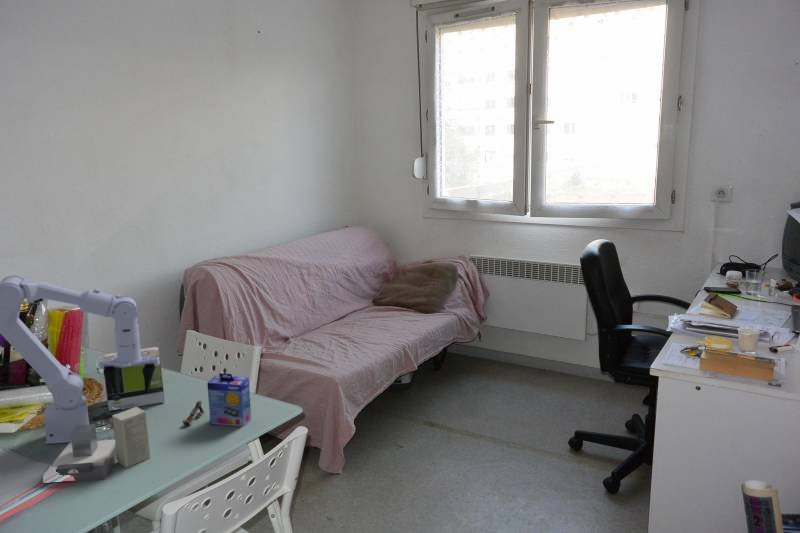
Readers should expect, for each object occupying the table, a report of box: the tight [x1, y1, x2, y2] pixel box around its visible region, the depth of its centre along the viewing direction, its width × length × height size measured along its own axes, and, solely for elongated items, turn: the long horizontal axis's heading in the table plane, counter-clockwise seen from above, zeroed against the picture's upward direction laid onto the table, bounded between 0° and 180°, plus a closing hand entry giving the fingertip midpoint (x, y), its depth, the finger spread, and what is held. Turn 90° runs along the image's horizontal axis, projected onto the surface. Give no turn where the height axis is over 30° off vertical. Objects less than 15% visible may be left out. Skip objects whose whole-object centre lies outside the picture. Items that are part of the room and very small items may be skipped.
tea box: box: [103, 346, 166, 411], centre depth 173 cm, size 15×10×15 cm, turn 115°
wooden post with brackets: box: [182, 400, 205, 427], centre depth 162 cm, size 2×8×4 cm, turn 165°
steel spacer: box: [71, 423, 98, 457], centre depth 139 cm, size 4×4×6 cm
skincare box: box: [111, 407, 151, 468], centre depth 140 cm, size 6×4×12 cm
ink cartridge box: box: [206, 373, 252, 427], centre depth 160 cm, size 10×6×14 cm, turn 81°
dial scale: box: [50, 438, 117, 482], centre depth 139 cm, size 13×14×3 cm
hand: (132, 392), depth 157 cm, fingers open, 7 cm apart
